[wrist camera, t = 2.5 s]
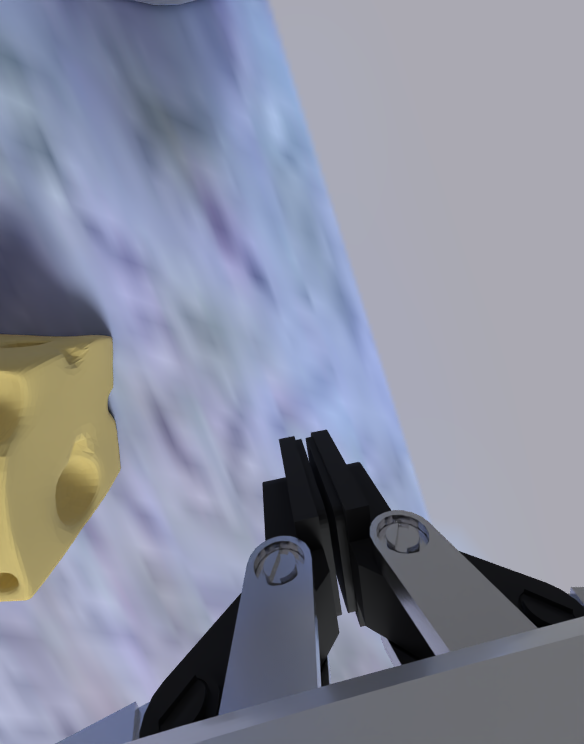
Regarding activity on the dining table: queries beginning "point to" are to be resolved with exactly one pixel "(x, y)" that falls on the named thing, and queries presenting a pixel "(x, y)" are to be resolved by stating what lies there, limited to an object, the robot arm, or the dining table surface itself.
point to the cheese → (51, 450)
